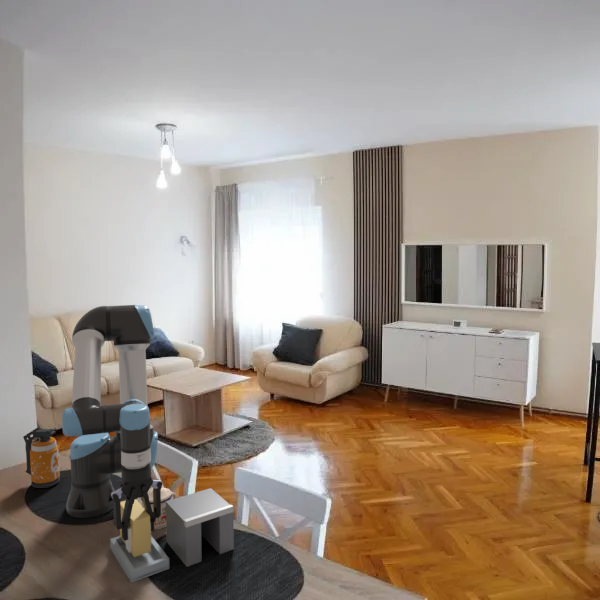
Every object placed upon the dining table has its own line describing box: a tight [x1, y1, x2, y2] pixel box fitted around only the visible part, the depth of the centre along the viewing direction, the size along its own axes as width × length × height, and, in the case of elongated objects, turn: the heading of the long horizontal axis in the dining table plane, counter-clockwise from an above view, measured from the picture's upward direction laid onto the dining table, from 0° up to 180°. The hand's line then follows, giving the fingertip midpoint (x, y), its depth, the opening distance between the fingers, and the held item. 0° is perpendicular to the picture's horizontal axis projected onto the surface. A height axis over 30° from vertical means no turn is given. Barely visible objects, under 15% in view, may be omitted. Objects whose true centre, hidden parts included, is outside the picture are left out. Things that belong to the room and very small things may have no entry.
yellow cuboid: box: [119, 499, 151, 557], centre depth 144 cm, size 12×4×10 cm, turn 36°
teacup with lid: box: [140, 486, 178, 531], centre depth 160 cm, size 12×9×12 cm
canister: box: [22, 427, 61, 489], centre depth 183 cm, size 9×11×20 cm
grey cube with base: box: [165, 487, 235, 567], centre depth 147 cm, size 14×14×13 cm
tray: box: [109, 535, 170, 583], centre depth 142 cm, size 18×10×3 cm, turn 36°
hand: (138, 546), depth 142 cm, fingers closed on yellow cuboid, 4 cm apart
